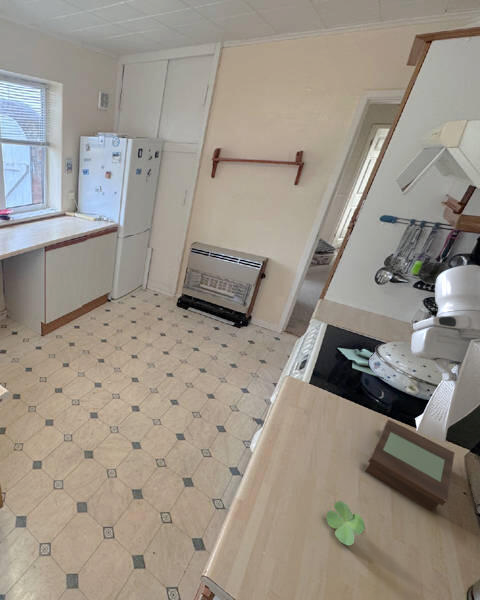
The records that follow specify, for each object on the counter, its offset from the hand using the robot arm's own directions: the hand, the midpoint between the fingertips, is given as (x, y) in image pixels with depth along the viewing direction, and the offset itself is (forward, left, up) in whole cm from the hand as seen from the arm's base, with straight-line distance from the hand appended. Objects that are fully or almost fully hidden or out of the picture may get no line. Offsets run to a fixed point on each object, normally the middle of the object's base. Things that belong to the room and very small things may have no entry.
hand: (470, 384), depth 74 cm
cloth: (-15, -55, -29) cm, 64 cm away
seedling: (+23, +25, -29) cm, 45 cm away
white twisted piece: (0, -1, -16) cm, 16 cm away
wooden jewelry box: (0, 0, -29) cm, 29 cm away
